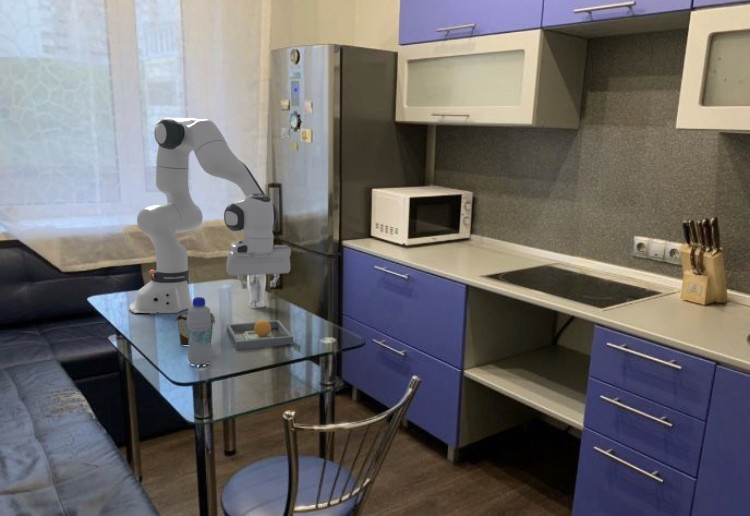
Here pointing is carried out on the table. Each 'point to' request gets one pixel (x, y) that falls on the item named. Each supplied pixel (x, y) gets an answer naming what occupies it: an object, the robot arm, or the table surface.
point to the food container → (183, 327)
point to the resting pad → (254, 335)
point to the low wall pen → (258, 343)
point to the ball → (262, 328)
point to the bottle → (199, 332)
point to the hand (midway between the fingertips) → (258, 287)
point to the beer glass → (256, 290)
